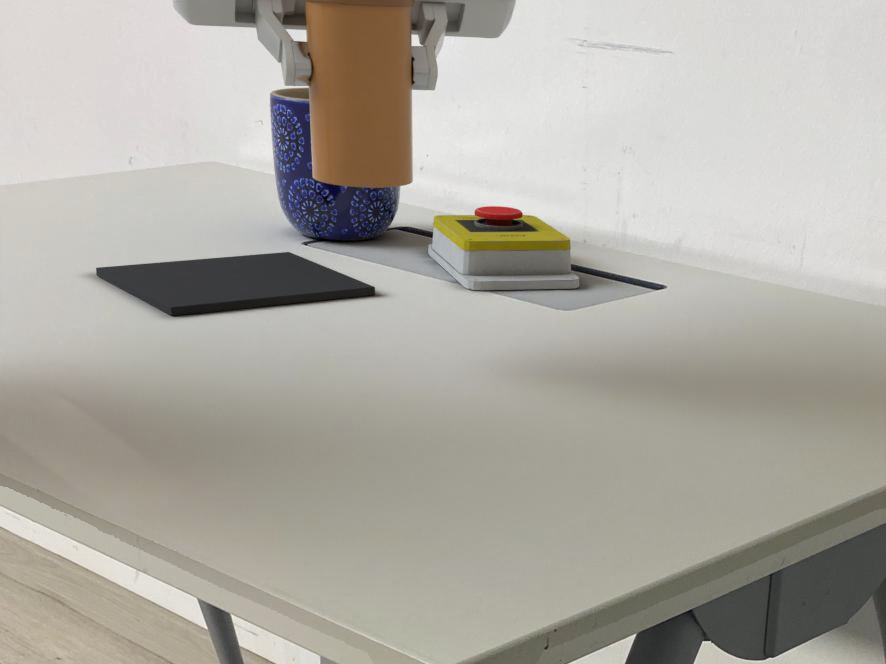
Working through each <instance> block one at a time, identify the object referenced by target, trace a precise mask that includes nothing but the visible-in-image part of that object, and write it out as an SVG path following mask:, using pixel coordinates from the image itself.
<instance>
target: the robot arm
mask: <svg viewBox="0 0 886 664" xmlns="http://www.w3.org/2000/svg"><path fill="white" fill-rule="evenodd" d="M516 2H517V0H415V5H414V6H411V32H412V36H413V35H414V36H418V37H417V38H418V43H419V45H412V91H414V90H415V91H435V90H436V87H437V81H438V76H439V75H438V74H439V72H438V71H439V70H438V69H439V67H438V62H437V58H438V56H439V54H440V52H441V51H442V49H443V45H444V41H445V37H457V38H478V39H479V38H482V39H497V38H499V37H500V36H502V35H503V34H504V32H505V30H506V29H507V28H508V26H509V24H510V22H511V21H512V17H513V14H514V11H515V7H516ZM172 7H173V9H174V10H175V12H176V13H177V14H178V15H179V16H180V17H181V18H183V20H185V22H187V23H188V24H189V25H193V26H203V27H205V26H206V27H226V28H227V27H229V28H230V27H231V28H250V29H251V28H253V29H255V30H256V36H257V41H259V42H260V43H261V45H262V46H263V47H264V48H265V49H266V51H268V52H269V53H270V55H271V56H272V57H273V58H274V59H275V61H277V63H278V64H279V63H280V67H281V73H282V80H283V85H284V86H285V87H309V86H310V83H311V81H310V77H311V75H312V66H311V58H310V57H309V48H308V43H307V41H303V40H302V41H301V40H294V38H293V37H292V36H291V35H290V33H289V31H287V30H294V31H295V30H297V31H306V13H305V0H172Z"/></svg>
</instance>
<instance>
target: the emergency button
mask: <svg viewBox="0 0 886 664" xmlns="http://www.w3.org/2000/svg"><path fill="white" fill-rule="evenodd" d="M432 226H433V229H432V230H433V231H432V243H430V244H428V245H427V246H428V247H427V248H428V249H427V252H428V253H427V254H428V255H429V256H430V258H431V259H433V260H434V262H436V263H437V264H438V265H440V266H441V267H442V268H443V269H444V270H445V271H446V272H447V273H448V274H449V275H450V276H452V277H453V279H455V280H456V281H457V282H458V283H459V284H460V285H461V286H462V287H463V288H465V289H466V290H472V291H514V290H515V291H516V290H517V291H518V290H566V289H567V290H569V289H570V290H571V289H577V288H580V276H578V274H575V273H574V272H573V271H572V261H571V260H572V258H571V256H572V255H571V248H572V247H571V238H570V237H569V236H567V235H566V234H564V233H562V232H561V231H559V230H557V229H556V228H554V227H553V226H552V225H550V224H549V223H547V222H545V221H544V220H542V219H541V218H539V217H537V216H535V215H532V214H531V215H530V214H524V213H523V212H522V210H520V209H518V208H515V207H508V206H497V205H496V206H494V205H492V206H490V205H489V206H482V207H477V208H476V209H475V210H474V214H439V215H434V217H433V223H432Z"/></svg>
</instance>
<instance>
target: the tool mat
mask: <svg viewBox="0 0 886 664" xmlns="http://www.w3.org/2000/svg"><path fill="white" fill-rule="evenodd" d="M95 272H96V276H97V277H99V278H100V279H102V280H104V281H106V282H108V283H110V284H111V285H114V286H115V287H117V288H119V289H121V290H122V291H125V292H127V293H128V294H130V295H133V296H134V297H136V298H138V299H140V300H142V301H144V302H145V303H147V304H149V305H151V306H153V307H155V308H157V309H158V310H160V311H162V312H164V313H166V314H168V315H170V316H171V317H174V316H175V317H176V316H184V315H185V316H186V315H192V314H193V315H194V314H203V313H214V312H222V311H223V312H224V311H232V310H233V311H234V310H241V309H249V308H250V309H252V308H263V307H270V306H280V305H290V304H300V303H309V302H318V301H319V302H320V301H329V300H338V299H348V298H357V297H367V296H369V297H370V296H375V295H376V287H375V286H373V285H372V284H369V283H366V282H364V281H361V280H359V279H356V278H354V277H351V276H349V275H347V274H344V273H342V272H339V271H337V270H334V269H331V268H330V267H327V266H326V265H325V266H324V265H322V264H319V263H317V262H314V261H312V260H310V259H308V258H305V257H303V256H300V255H298V254H295V253H293V252H290V251H283V252H270V253H260V254H259V253H258V254H247V255H235V256H234V255H233V256H222V257H211V258H210V257H208V258H196V259H184V260H173V261H161V262H147V263H137V264H136V263H135V264H125V265H124V264H123V265H113V266H101V267H96V268H95Z"/></svg>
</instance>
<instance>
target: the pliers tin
mask: <svg viewBox="0 0 886 664" xmlns="http://www.w3.org/2000/svg"><path fill="white" fill-rule="evenodd" d="M414 5H415V0H305V13H306V30H305V34H306V42H307V43H308V48H309V57H310V58H311V66H312V75H311V77H310V81H311V83H310V86H308V88H309V105H310V128H311V151H312V174H313V178H314V179H315V180H317V181H319V182H323V183H327V184H333V185H340V186H350V187H371V188H379V187H397V186H400V187H402V186H407V185H410V184H412V183H413V181H414V170H413V169H414V166H413V165H414V154H413V153H414V152H413V150H414V148H413V146H414V145H413V143H414V141H413V90H412V46H413V44H412V40H413V39H412V36H413V35H412V32H411V6H414Z"/></svg>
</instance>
